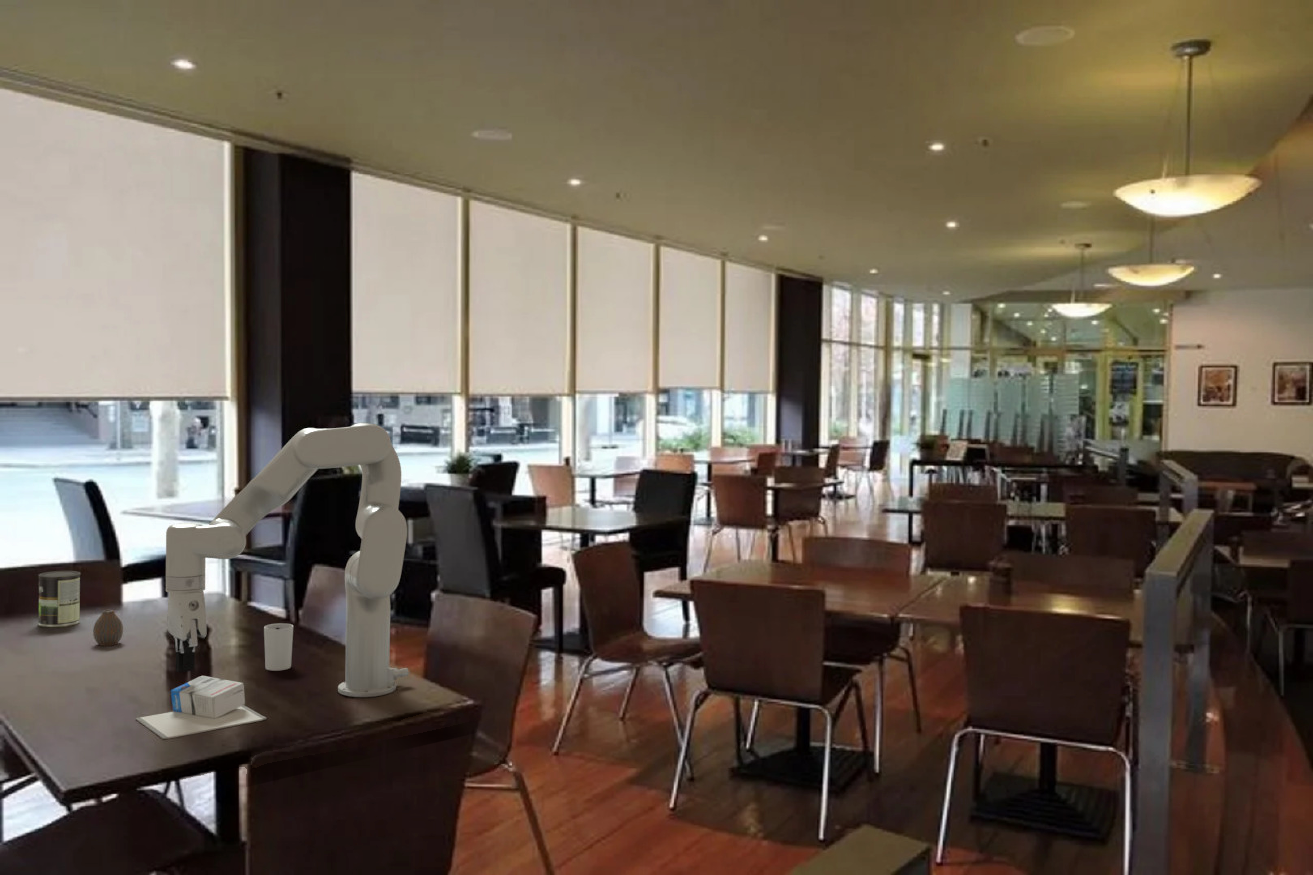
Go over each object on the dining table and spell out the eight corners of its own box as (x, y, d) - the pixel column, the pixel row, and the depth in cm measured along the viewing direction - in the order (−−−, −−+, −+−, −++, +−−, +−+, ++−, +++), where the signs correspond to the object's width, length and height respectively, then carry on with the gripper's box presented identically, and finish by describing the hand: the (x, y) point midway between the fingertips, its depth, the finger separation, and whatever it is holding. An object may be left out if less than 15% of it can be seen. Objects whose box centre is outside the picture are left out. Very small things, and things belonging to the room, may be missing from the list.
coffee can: (36, 628, 290) (36, 577, 290) (40, 621, 299) (40, 571, 299) (78, 625, 294) (79, 575, 294) (81, 618, 304) (81, 569, 303)
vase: (107, 648, 270) (107, 614, 270) (86, 645, 272) (87, 611, 272) (129, 642, 276) (129, 609, 276) (108, 640, 279) (108, 607, 278)
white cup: (257, 668, 254) (257, 627, 253) (279, 662, 260) (279, 622, 259) (277, 672, 251) (277, 630, 250) (298, 666, 256) (299, 625, 256)
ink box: (171, 711, 217) (214, 721, 213) (169, 688, 217) (212, 697, 212) (205, 696, 225) (246, 704, 220) (203, 674, 224) (244, 682, 220)
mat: (235, 701, 226) (235, 700, 226) (266, 719, 214) (266, 718, 214) (135, 719, 212) (135, 718, 212) (163, 739, 201) (163, 738, 201)
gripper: (217, 586, 216) (216, 675, 217) (191, 576, 227) (190, 661, 228) (179, 590, 211) (178, 681, 212) (154, 580, 222) (154, 666, 223)
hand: (185, 670), depth 220 cm, fingers closed
